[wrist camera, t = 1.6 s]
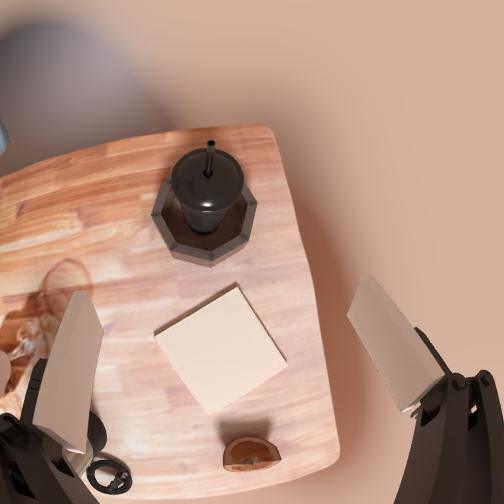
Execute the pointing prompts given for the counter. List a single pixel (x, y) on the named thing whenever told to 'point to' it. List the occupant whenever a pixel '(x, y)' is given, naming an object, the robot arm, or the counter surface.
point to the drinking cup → (206, 186)
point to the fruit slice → (250, 455)
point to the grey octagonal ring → (196, 255)
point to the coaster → (221, 351)
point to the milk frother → (93, 446)
